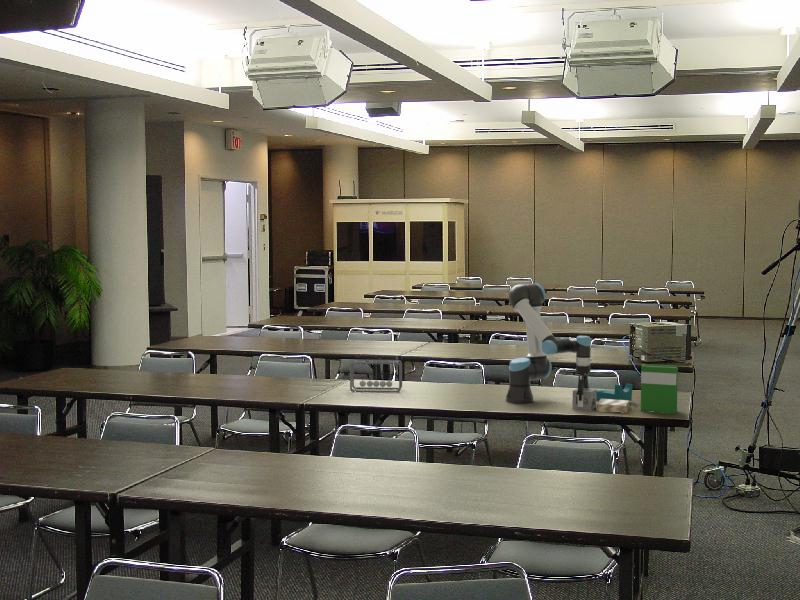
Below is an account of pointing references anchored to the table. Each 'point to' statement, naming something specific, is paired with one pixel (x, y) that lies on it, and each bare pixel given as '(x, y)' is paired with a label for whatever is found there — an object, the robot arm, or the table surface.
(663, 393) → the green cereal box
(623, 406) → the plinth
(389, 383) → the newton's cradle
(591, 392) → the icon cube
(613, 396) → the teal tape dispenser
